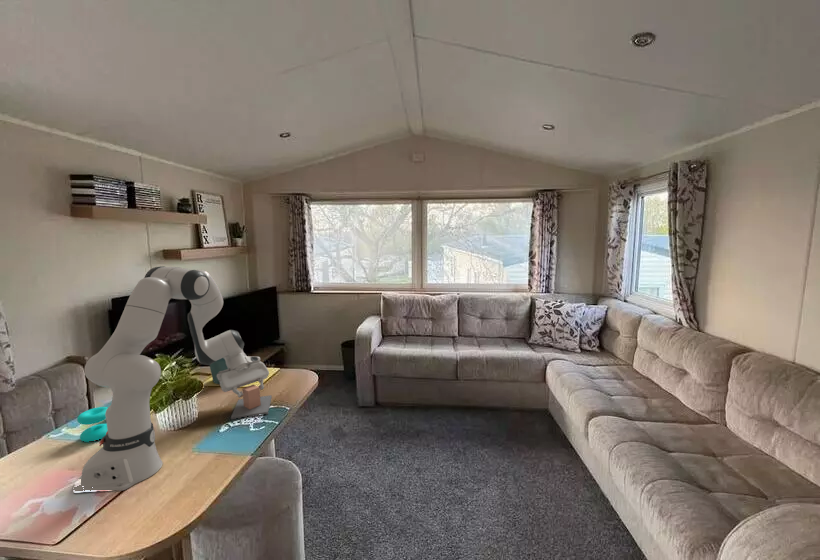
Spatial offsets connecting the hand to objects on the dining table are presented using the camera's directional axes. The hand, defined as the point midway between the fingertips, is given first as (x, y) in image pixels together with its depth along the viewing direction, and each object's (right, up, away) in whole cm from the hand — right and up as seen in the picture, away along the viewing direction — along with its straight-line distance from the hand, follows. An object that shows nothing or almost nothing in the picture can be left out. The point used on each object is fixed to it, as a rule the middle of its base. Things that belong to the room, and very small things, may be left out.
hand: (251, 392), depth 164 cm
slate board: (0, -7, +1) cm, 7 cm away
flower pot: (-28, -4, +34) cm, 44 cm away
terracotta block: (0, -6, +1) cm, 6 cm away
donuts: (-51, -11, -19) cm, 55 cm away
